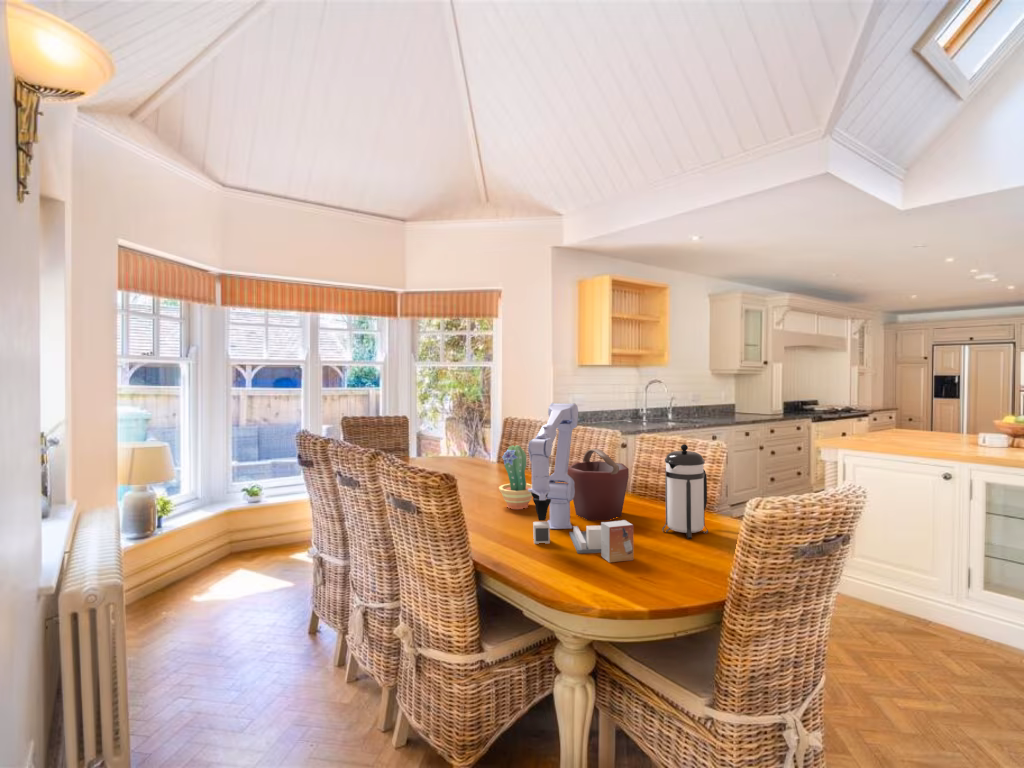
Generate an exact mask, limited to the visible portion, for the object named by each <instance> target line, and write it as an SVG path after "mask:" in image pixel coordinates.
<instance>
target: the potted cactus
mask: <svg viewBox="0 0 1024 768" xmlns="http://www.w3.org/2000/svg"><path fill="white" fill-rule="evenodd" d="M501 458H502V460H503V465H504V468H505V470H506V473H507V476H508V480H509V483H505V484H501V485H500V486H498V490H499V492H500V493H501V495H502V498H503V500H504V501H505V503H506V507H508V508H507V509H510V508H511V510H524V509H523V508H525V509H527V508H529V507H528V506H529V503H530V502H531V501H532V500H533V496H532V494H531V492H529V491H528V489H531V488H532V483H531V484H530V483H527V481H526V472H525V471H526V469H527V467H526V466H527V454H526V451H525V450H523V448H522V446H521V445H517V444H516V445H509V446H508V448H507V450H506V451H505V452H503V455H502V456H501Z"/></svg>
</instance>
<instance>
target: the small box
mask: <svg viewBox="0 0 1024 768" xmlns="http://www.w3.org/2000/svg"><path fill="white" fill-rule="evenodd" d="M600 525H601V553H600V555H601V556H600V557H602V559H604V560H606V561H607V562H608V563H615V562H616V563H617V562H627V561H633V560H634V524H633V523H630V522H629V521H627V520H626V519H622V520H613V521H600Z"/></svg>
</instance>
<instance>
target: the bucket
mask: <svg viewBox="0 0 1024 768" xmlns="http://www.w3.org/2000/svg"><path fill="white" fill-rule="evenodd" d="M594 453H595V454H596V455H598V456H599V457H600V458H601V459H603V461H601V460H597V461H591V457H592V455H593V454H594ZM629 469H630V468H629V467H627V466H626V465H625V464H624V463H620V462H615V461H614V460H613V459H612V458H611V456H609V455H608V454H606V453H605V451H603V450H601V449H599V448H593V449H592V448H591V449H588V450H586V452H585V453H584V454H583V459H582V461H579V462H575V463H572V464H571V465H568V475H569V476H570V477H571V478H572V479H573V480H574V488H575V494H574V498H573V500H572V501H573V505H574V510H575V515H576V516H577V515H578V516H577V517H579V516H580V518H582V517H583V518H582V519H584V518H585V519H584V520H586V519H587V520H586V521H596V520H610V519H613V518H616V517H619V518H621V517H622V514H623V508H624V504H625V503H624V502H625V499H626V494H627V487H628V482H629V477H630V476H629V475H630V474H629V472H630V471H629ZM620 516H621V517H620ZM616 519H617V518H616ZM613 520H614V519H613ZM610 521H611V520H610Z"/></svg>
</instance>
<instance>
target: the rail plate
mask: <svg viewBox="0 0 1024 768" xmlns="http://www.w3.org/2000/svg"><path fill="white" fill-rule="evenodd" d="M572 527H573V528H572V529H573V530H572V531H569V537H570V539H571V541H572V544H573V546H574V548H575V551H576V552H577V554H601V524H600V525H586V527H585V528H586V530H585V531H582V530H580V528H579V525H576V526H575V525H572Z"/></svg>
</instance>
